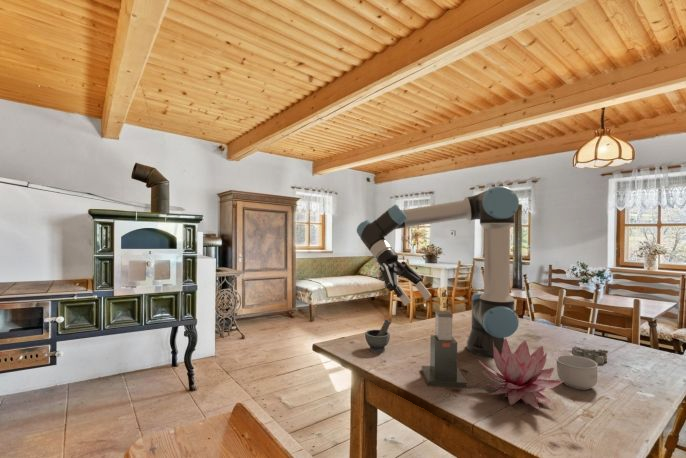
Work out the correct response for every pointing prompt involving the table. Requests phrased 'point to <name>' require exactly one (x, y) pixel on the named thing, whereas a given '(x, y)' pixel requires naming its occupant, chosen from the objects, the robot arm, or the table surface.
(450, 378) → the sleeve
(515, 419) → the table surface
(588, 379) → the teacup
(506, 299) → the robot arm
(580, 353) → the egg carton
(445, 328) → the steel post
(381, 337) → the mortar and pestle
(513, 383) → the decorative flower
